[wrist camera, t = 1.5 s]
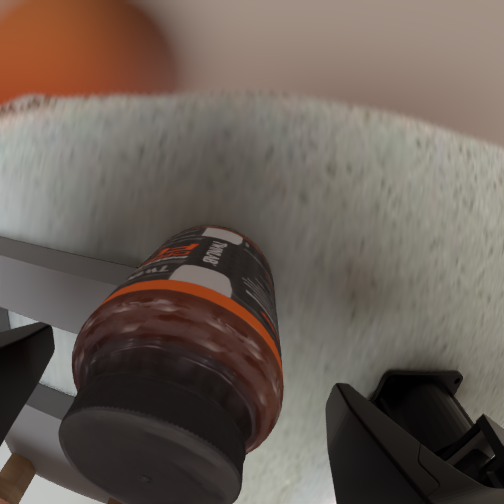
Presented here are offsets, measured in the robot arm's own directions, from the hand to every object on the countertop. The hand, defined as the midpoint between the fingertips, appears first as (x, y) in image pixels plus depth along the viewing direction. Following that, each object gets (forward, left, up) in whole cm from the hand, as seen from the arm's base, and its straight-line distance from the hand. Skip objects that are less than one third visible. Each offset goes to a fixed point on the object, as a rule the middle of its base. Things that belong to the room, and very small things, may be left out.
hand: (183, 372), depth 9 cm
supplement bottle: (0, 0, -8) cm, 8 cm away
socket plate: (+10, +11, -7) cm, 17 cm away
